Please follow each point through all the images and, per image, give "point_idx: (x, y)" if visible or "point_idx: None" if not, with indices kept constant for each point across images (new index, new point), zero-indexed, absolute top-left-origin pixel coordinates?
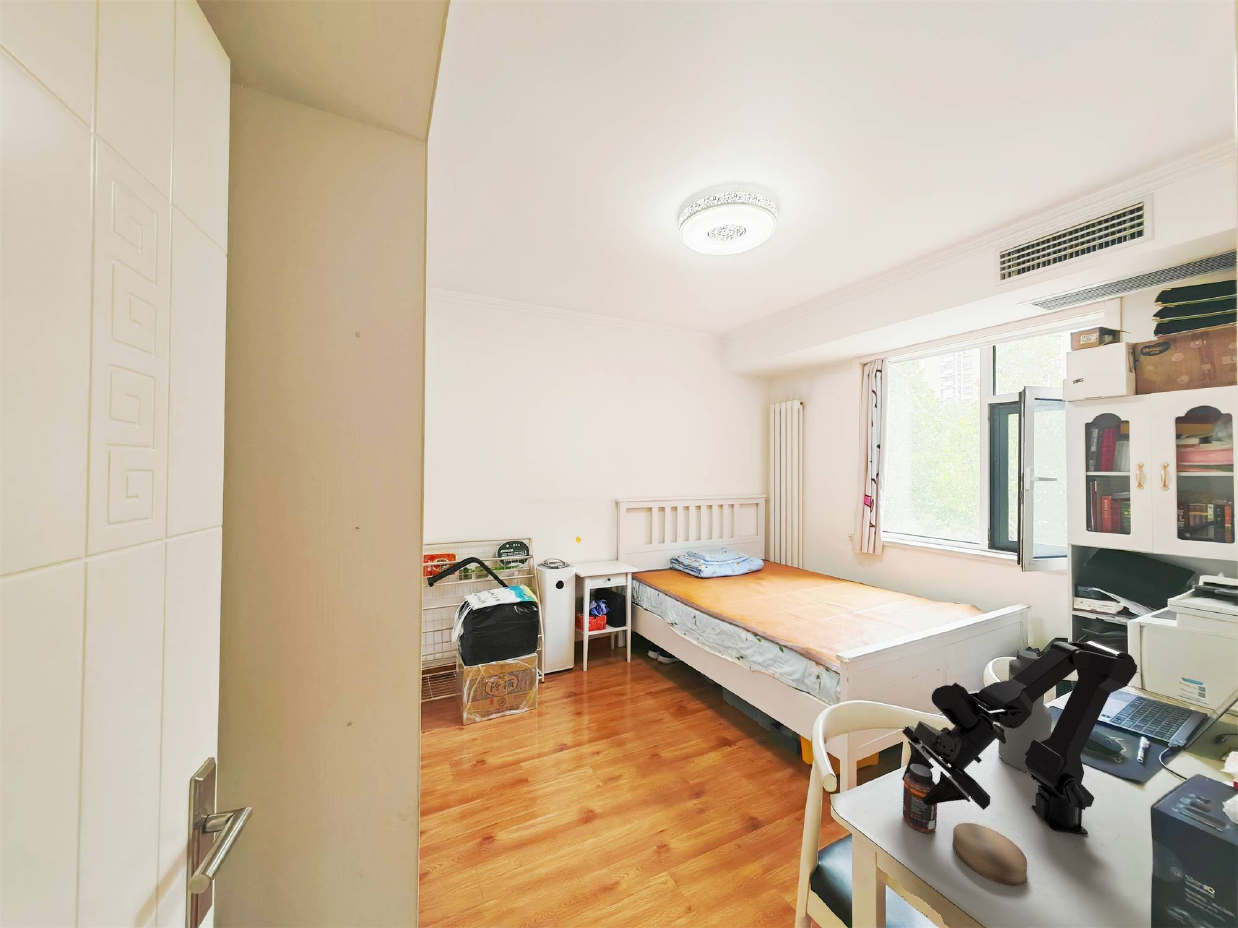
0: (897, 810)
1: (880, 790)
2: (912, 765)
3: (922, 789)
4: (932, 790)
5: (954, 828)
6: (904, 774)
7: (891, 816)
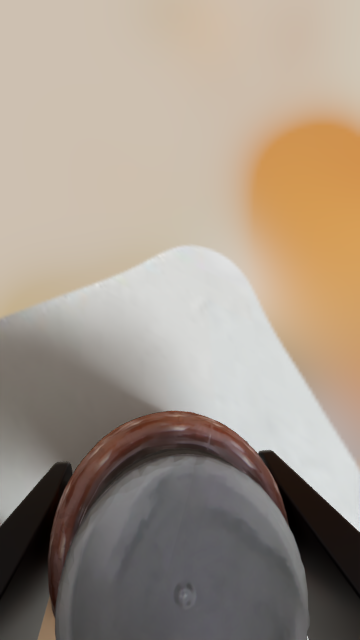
0: None
1: (325, 424)
2: (262, 517)
3: (73, 484)
4: (1, 562)
5: (44, 625)
6: (289, 472)
7: (191, 387)
